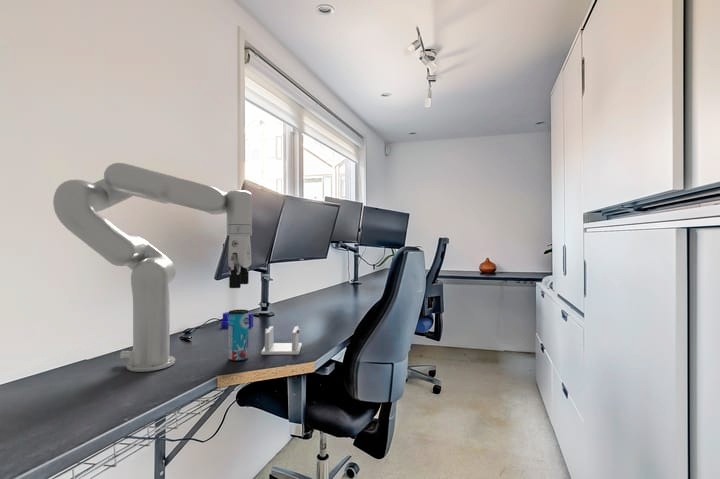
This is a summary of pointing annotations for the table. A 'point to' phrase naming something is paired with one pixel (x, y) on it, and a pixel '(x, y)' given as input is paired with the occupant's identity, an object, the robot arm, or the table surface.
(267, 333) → the clip holder
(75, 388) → the table surface
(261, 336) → the table surface
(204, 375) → the table surface
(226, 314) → the cable clip
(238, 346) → the beverage can
